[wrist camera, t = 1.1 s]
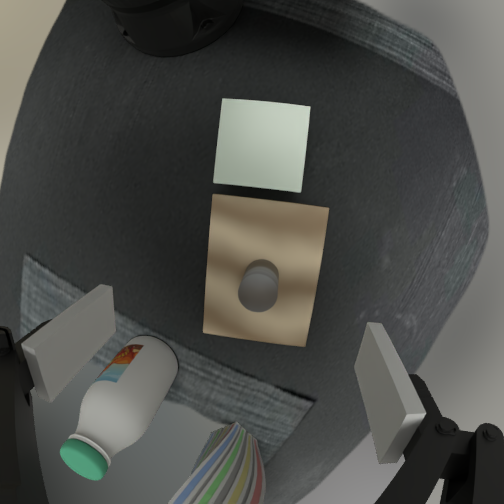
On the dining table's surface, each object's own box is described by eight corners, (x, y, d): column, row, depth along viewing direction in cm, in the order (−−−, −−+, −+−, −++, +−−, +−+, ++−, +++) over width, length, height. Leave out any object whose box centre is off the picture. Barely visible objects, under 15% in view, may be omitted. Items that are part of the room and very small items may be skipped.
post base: (214, 193, 33) (199, 197, 27) (328, 207, 32) (338, 214, 26) (204, 329, 37) (190, 356, 31) (304, 343, 36) (307, 373, 30)
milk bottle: (173, 334, 38) (98, 448, 19) (184, 383, 40) (129, 499, 20) (120, 332, 39) (32, 426, 19) (133, 379, 41) (65, 478, 21)
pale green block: (236, 115, 31) (222, 98, 23) (304, 122, 31) (310, 106, 23) (229, 180, 33) (213, 182, 25) (296, 188, 32) (300, 192, 25)
